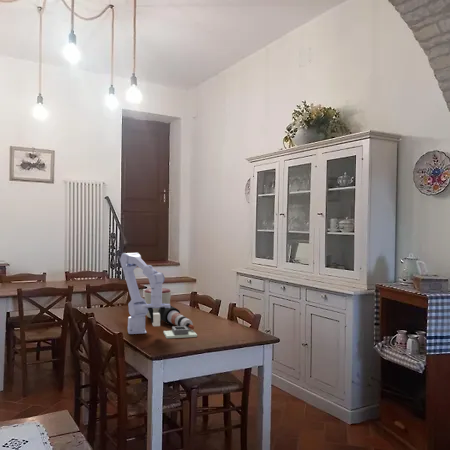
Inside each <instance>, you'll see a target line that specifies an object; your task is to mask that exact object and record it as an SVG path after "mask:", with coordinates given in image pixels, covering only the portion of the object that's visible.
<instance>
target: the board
mask: <svg viewBox="0 0 450 450" xmlns="http://www.w3.org/2000/svg"><path fill="white" fill-rule="evenodd" d="M163 335H164V336H165V338H166V339H181V338H183V339H184V338H197V337H198V334H197V333H196V332H195V331H194V329H190V330H188V328H187V327H186V326H176V325H175V326H171V330H163Z"/></svg>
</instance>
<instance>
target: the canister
mask: <svg viewBox="0 0 450 450" xmlns="http://www.w3.org/2000/svg"><path fill="white" fill-rule="evenodd" d="M142 292H143V294H144V295H143V296H144V299H145V301H146V303H147V304H151V287H149V288H147V289H144V290H143V291H142ZM172 293H173V291H172V290H171V289H169V288H165V287H162V304H170V305H171V295H172ZM152 309H153V313H158V311H159V308H152ZM146 316H147V318H149V319H151V317H150V314H149V311H148V313H147V315H146Z"/></svg>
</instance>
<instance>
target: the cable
mask: <svg viewBox="0 0 450 450" xmlns="http://www.w3.org/2000/svg"><path fill="white" fill-rule="evenodd" d="M158 313H160V312H159V311H158ZM161 322H164V323H166V324H167V325H169V326H174V325H175V326H186V327H187V328H188V330H194V328H195V326H194V324H193V321H192V320H191V319H190V318H188V317H186V316H185V315H184V314H182V313H181V312H180V309H178V308H177V307H174V306H172V305H171V304H170V308H165V311H164V313H163V316H162V319H161Z"/></svg>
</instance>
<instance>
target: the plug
mask: <svg viewBox="0 0 450 450" xmlns="http://www.w3.org/2000/svg"><path fill="white" fill-rule="evenodd" d="M151 324H152V327H161V322H160V313H153V323H152V322H151Z"/></svg>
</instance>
